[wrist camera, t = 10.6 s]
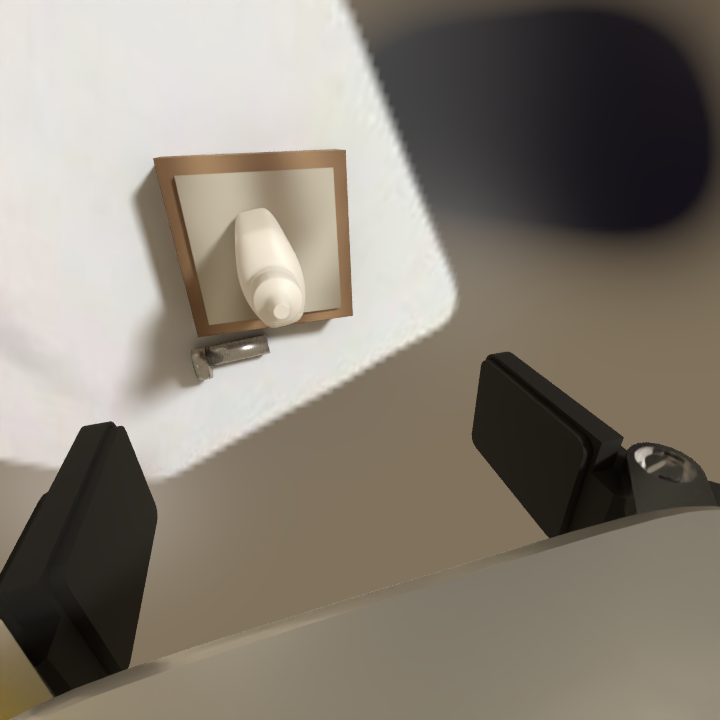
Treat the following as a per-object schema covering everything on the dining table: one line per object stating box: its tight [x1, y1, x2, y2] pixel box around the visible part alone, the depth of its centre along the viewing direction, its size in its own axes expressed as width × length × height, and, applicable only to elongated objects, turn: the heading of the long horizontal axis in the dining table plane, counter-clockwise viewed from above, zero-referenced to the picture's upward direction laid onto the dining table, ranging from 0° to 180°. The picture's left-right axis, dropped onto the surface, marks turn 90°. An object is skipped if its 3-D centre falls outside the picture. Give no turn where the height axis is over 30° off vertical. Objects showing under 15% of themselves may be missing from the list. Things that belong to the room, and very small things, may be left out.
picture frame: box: [153, 149, 353, 337], centre depth 30 cm, size 12×12×3 cm
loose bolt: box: [191, 335, 270, 381], centre depth 34 cm, size 6×3×3 cm
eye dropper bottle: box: [235, 208, 305, 328], centre depth 23 cm, size 4×6×12 cm
